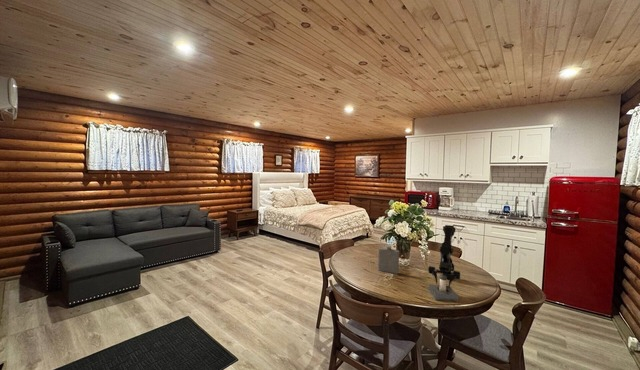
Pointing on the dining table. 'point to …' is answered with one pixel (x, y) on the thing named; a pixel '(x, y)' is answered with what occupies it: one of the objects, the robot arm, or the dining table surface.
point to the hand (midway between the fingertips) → (442, 284)
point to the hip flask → (388, 260)
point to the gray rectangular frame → (443, 293)
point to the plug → (443, 283)
